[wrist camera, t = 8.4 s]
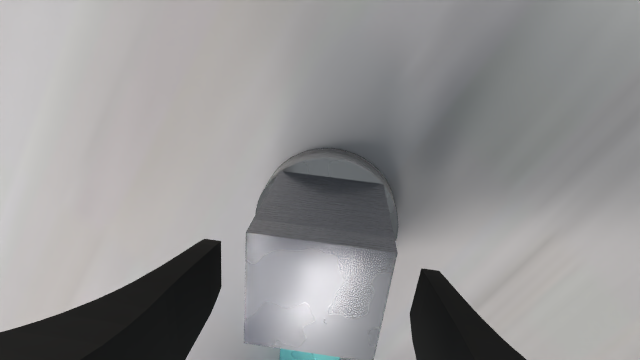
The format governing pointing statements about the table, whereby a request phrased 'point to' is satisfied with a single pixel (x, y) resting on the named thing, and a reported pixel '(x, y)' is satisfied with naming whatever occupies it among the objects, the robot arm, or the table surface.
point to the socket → (319, 266)
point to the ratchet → (336, 167)
